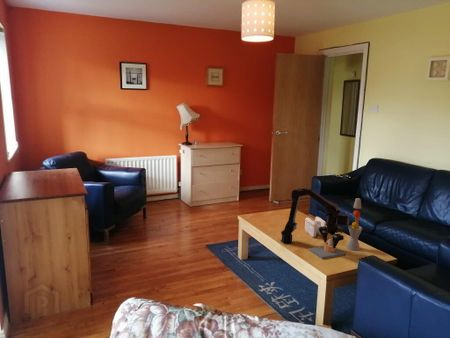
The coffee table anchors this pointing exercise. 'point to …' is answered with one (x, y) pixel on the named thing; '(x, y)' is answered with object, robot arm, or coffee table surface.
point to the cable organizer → (314, 226)
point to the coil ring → (328, 247)
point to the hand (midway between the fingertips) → (329, 245)
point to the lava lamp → (355, 228)
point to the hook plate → (323, 254)
